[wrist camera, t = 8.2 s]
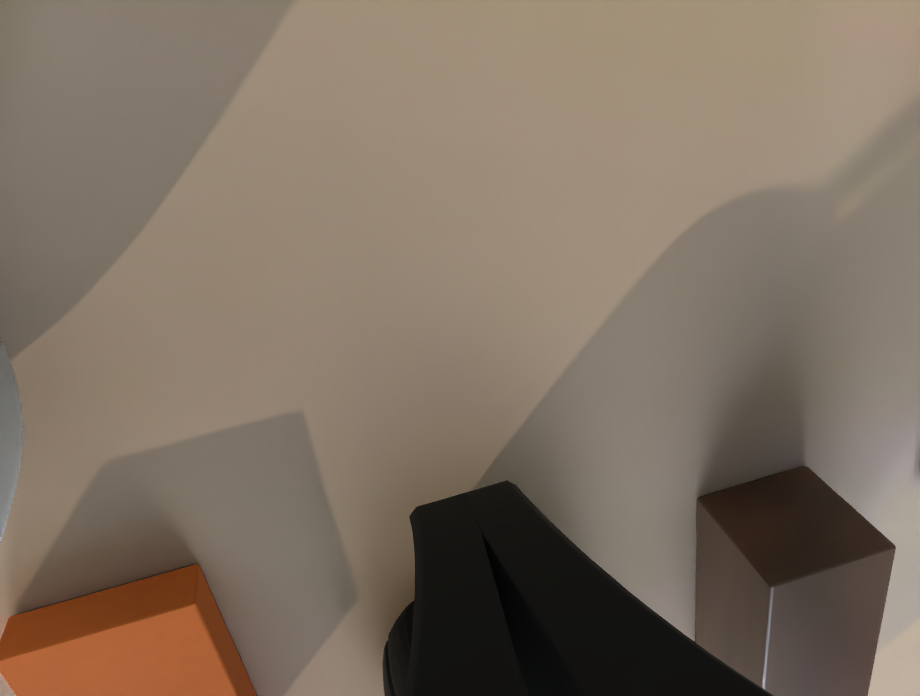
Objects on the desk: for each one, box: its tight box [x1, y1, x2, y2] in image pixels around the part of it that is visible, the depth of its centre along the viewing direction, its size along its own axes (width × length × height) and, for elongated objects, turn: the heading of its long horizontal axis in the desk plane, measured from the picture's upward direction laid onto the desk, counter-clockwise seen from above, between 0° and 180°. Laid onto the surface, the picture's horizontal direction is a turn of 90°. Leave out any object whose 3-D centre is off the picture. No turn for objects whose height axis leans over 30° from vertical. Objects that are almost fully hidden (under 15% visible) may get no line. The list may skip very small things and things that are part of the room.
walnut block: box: [696, 466, 896, 696], centre depth 24 cm, size 4×8×4 cm, turn 9°
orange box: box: [0, 564, 257, 696], centre depth 21 cm, size 5×7×2 cm
